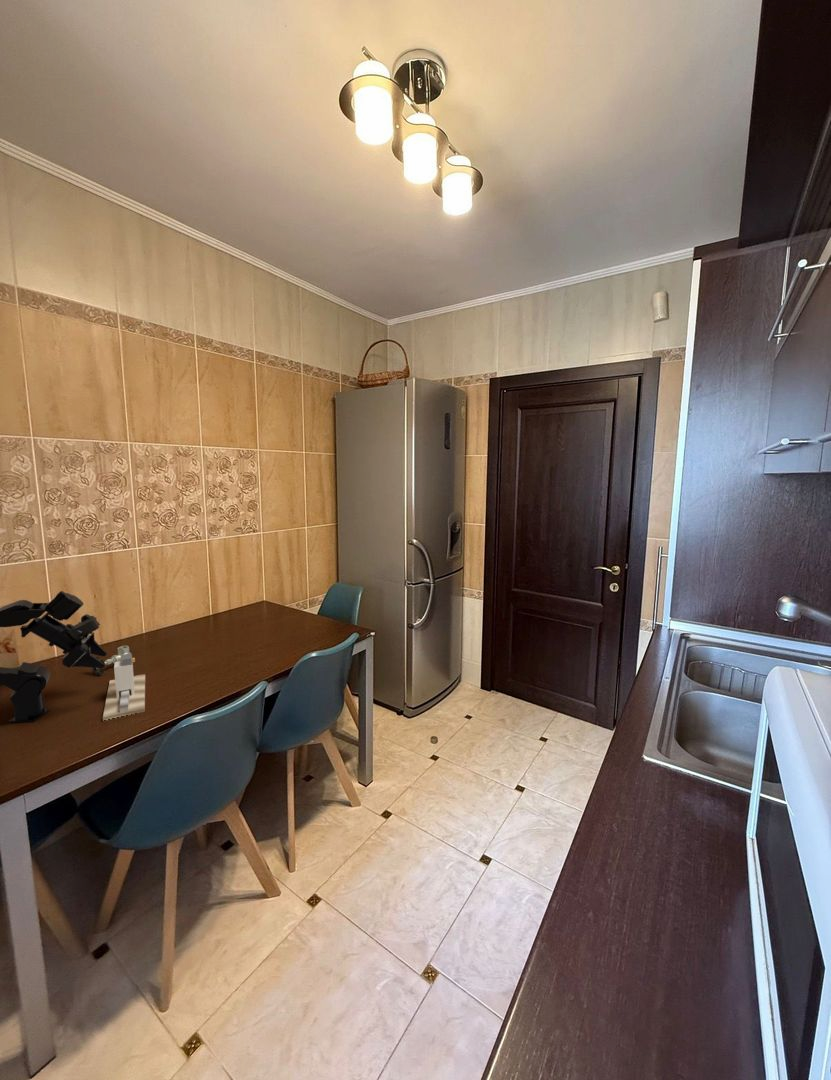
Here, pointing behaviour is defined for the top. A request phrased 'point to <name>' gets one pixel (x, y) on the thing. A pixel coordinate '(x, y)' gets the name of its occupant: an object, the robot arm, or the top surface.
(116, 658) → the valve
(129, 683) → the breaker module
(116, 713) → the din board
